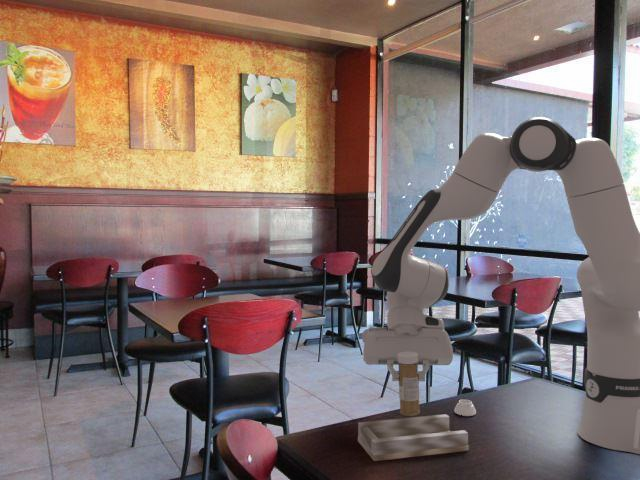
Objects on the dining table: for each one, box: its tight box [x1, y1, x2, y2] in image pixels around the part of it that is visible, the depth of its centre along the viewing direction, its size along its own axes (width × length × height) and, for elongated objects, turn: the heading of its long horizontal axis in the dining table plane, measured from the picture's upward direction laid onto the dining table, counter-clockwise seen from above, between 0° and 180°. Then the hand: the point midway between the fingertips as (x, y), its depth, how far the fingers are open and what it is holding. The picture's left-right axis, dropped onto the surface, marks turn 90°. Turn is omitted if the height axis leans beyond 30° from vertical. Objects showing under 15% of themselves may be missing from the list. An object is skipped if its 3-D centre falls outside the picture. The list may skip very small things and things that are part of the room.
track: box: [357, 413, 470, 462], centre depth 114 cm, size 20×10×4 cm, turn 104°
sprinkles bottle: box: [397, 351, 421, 417], centre depth 124 cm, size 5×5×13 cm
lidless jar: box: [454, 399, 477, 417], centre depth 134 cm, size 5×3×5 cm
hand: (408, 380), depth 124 cm, fingers closed on sprinkles bottle, 4 cm apart
